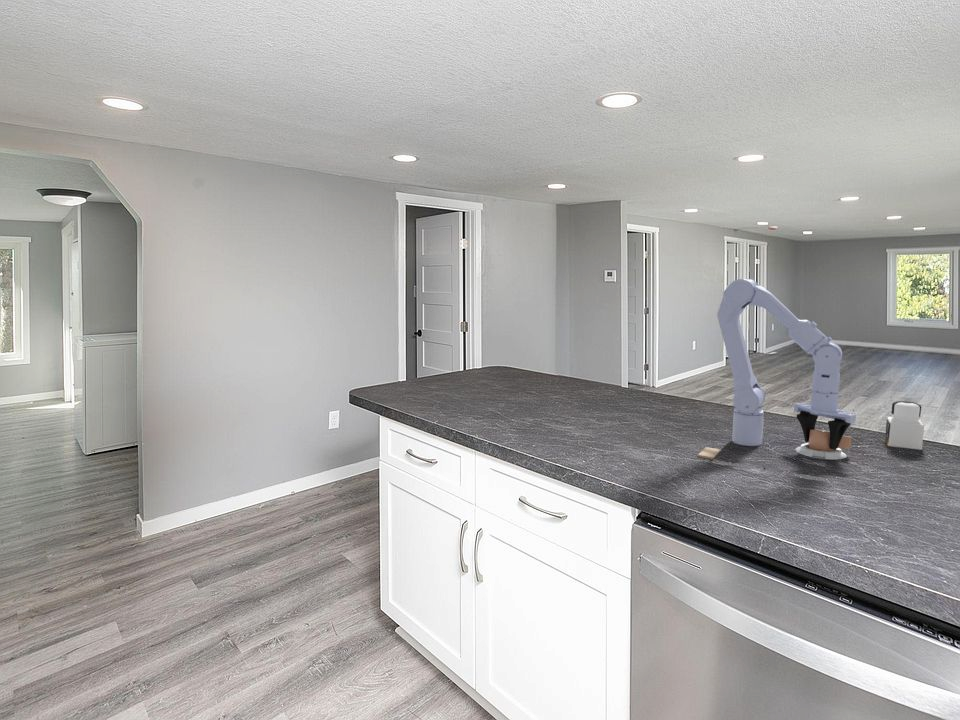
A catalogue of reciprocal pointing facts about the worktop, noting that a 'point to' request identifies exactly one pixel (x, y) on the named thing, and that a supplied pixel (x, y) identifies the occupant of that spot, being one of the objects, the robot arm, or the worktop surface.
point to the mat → (709, 453)
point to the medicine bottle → (905, 426)
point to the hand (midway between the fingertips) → (821, 444)
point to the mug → (825, 441)
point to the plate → (820, 453)
